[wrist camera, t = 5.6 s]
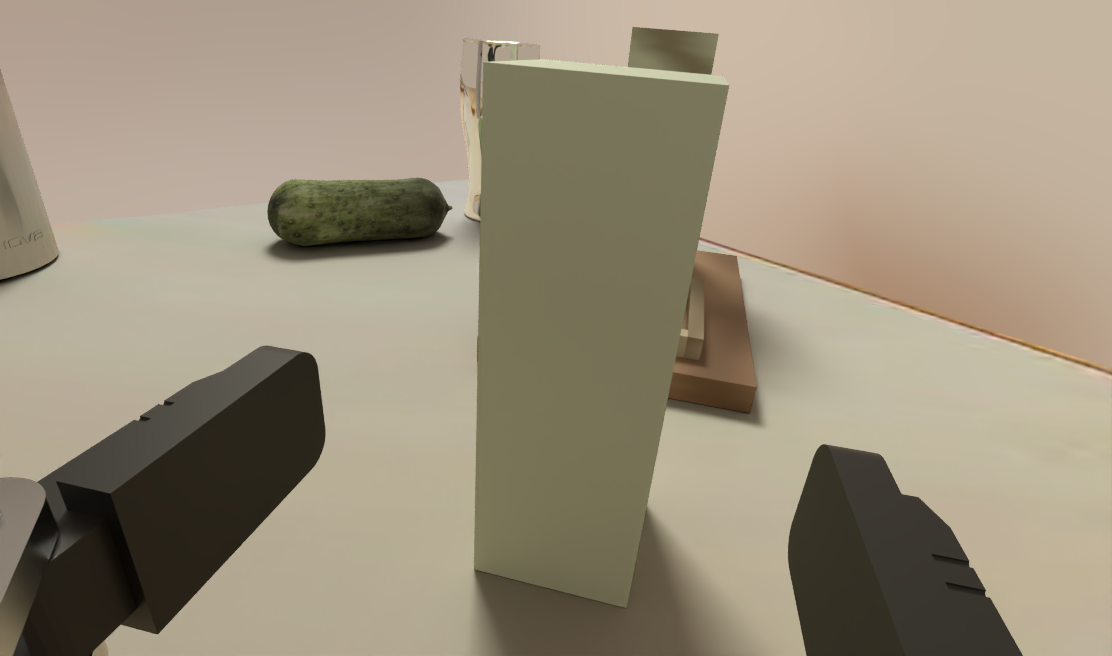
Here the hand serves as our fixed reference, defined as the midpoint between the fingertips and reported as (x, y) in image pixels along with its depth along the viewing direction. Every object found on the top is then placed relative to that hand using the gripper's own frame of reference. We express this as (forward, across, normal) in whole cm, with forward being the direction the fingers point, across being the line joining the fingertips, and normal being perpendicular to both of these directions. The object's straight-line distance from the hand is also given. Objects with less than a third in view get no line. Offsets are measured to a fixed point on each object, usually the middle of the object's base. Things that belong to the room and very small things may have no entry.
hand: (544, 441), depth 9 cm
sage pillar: (+8, 0, +10) cm, 12 cm away
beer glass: (+45, +15, +9) cm, 48 cm away
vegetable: (+34, +22, +9) cm, 41 cm away
